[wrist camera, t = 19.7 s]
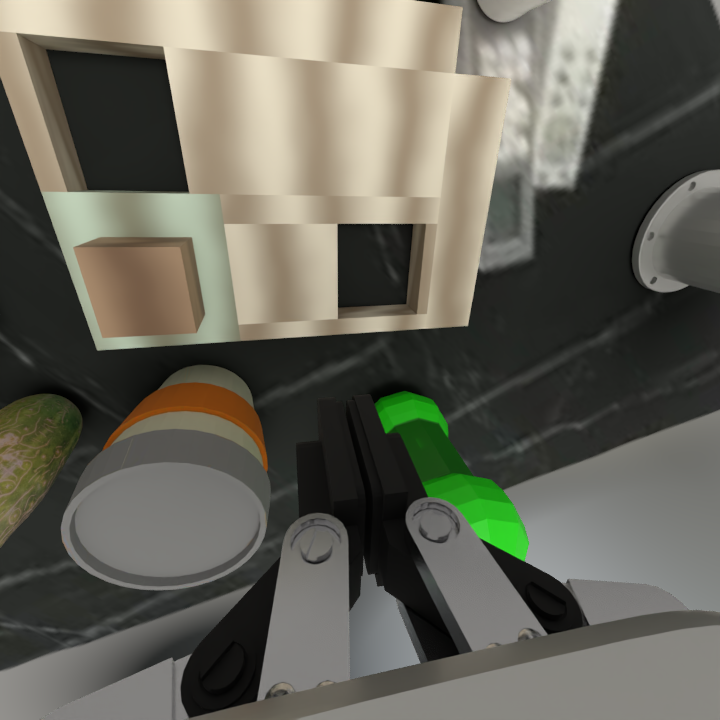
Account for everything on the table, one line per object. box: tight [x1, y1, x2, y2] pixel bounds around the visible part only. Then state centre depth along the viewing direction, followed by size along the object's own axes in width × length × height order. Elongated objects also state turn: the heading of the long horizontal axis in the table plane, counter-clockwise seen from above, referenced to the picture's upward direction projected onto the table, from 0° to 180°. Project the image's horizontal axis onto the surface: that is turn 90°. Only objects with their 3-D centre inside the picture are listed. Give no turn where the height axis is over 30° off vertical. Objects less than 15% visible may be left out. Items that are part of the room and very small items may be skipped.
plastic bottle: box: [374, 391, 529, 561], centre depth 31 cm, size 10×10×25 cm
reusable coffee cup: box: [61, 365, 271, 590], centre depth 30 cm, size 13×12×15 cm
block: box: [73, 237, 205, 338], centre depth 25 cm, size 6×6×4 cm
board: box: [0, 0, 511, 350], centre depth 28 cm, size 32×23×3 cm
